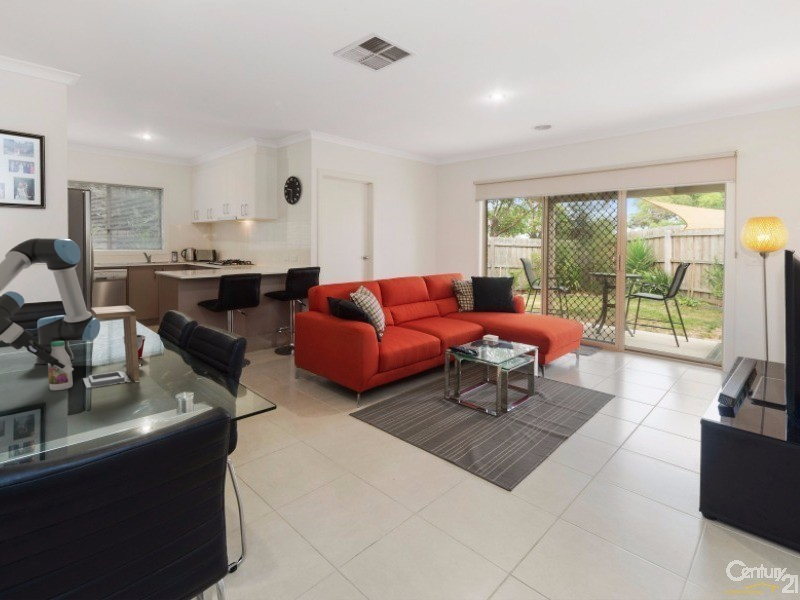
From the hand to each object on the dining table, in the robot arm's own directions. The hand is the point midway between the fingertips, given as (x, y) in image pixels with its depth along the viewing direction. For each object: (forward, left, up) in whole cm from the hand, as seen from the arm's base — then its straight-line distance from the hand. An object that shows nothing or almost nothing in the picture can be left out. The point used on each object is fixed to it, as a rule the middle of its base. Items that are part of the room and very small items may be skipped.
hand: (70, 369), depth 184 cm
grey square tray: (0, +13, -8) cm, 15 cm away
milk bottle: (0, -3, -8) cm, 8 cm away
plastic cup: (-35, +30, -8) cm, 46 cm away
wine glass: (-20, +27, -8) cm, 34 cm away
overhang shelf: (0, +17, -8) cm, 18 cm away
